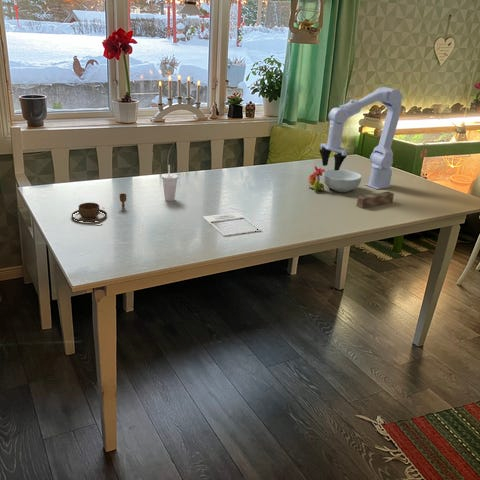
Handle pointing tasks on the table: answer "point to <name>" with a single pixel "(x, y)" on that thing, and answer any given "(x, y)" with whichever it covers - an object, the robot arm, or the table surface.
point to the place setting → (94, 210)
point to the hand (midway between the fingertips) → (330, 167)
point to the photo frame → (228, 217)
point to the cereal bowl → (341, 180)
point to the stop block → (375, 199)
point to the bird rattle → (316, 179)
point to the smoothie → (169, 185)
